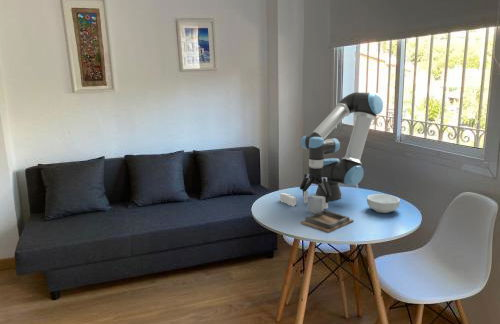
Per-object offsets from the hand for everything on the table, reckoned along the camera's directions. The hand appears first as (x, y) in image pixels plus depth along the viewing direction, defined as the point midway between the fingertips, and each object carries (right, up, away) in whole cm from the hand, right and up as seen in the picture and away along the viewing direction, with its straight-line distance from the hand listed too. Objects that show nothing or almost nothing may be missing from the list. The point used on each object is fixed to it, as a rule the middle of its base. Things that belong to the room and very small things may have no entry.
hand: (315, 205), depth 217 cm
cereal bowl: (+36, -3, +1) cm, 36 cm away
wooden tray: (+3, -7, -15) cm, 17 cm away
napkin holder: (-13, -1, +16) cm, 21 cm away
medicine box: (0, -4, +1) cm, 4 cm away
